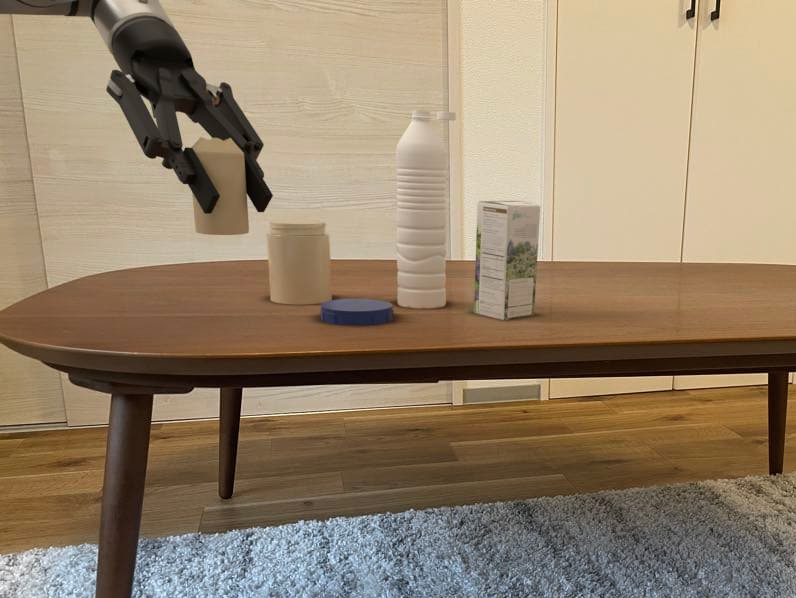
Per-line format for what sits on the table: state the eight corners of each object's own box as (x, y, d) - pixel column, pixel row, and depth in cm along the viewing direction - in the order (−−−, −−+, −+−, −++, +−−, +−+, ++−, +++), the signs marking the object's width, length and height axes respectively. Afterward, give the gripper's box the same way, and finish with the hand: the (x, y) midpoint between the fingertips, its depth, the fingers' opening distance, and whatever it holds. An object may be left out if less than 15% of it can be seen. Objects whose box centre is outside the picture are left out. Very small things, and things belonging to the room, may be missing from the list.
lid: (362, 311, 100) (361, 296, 99) (407, 321, 95) (407, 305, 95) (306, 319, 94) (305, 303, 93) (352, 330, 89) (351, 314, 88)
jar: (294, 308, 100) (290, 224, 97) (258, 299, 104) (253, 219, 101) (344, 301, 106) (341, 222, 103) (307, 293, 110) (304, 218, 107)
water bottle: (419, 311, 101) (418, 107, 94) (387, 304, 105) (384, 107, 98) (467, 305, 107) (470, 112, 100) (436, 298, 111) (436, 113, 104)
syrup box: (504, 310, 105) (507, 199, 101) (536, 317, 101) (541, 202, 97) (473, 314, 101) (475, 199, 96) (505, 322, 97) (508, 202, 93)
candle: (248, 230, 89) (242, 138, 86) (250, 235, 84) (243, 138, 81) (196, 230, 87) (188, 136, 84) (194, 235, 82) (186, 135, 79)
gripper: (63, 0, 78) (164, 178, 73) (232, 29, 92) (325, 180, 87) (48, 60, 82) (142, 231, 78) (211, 79, 96) (299, 224, 92)
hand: (239, 204), depth 83 cm, fingers closed on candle, 5 cm apart
